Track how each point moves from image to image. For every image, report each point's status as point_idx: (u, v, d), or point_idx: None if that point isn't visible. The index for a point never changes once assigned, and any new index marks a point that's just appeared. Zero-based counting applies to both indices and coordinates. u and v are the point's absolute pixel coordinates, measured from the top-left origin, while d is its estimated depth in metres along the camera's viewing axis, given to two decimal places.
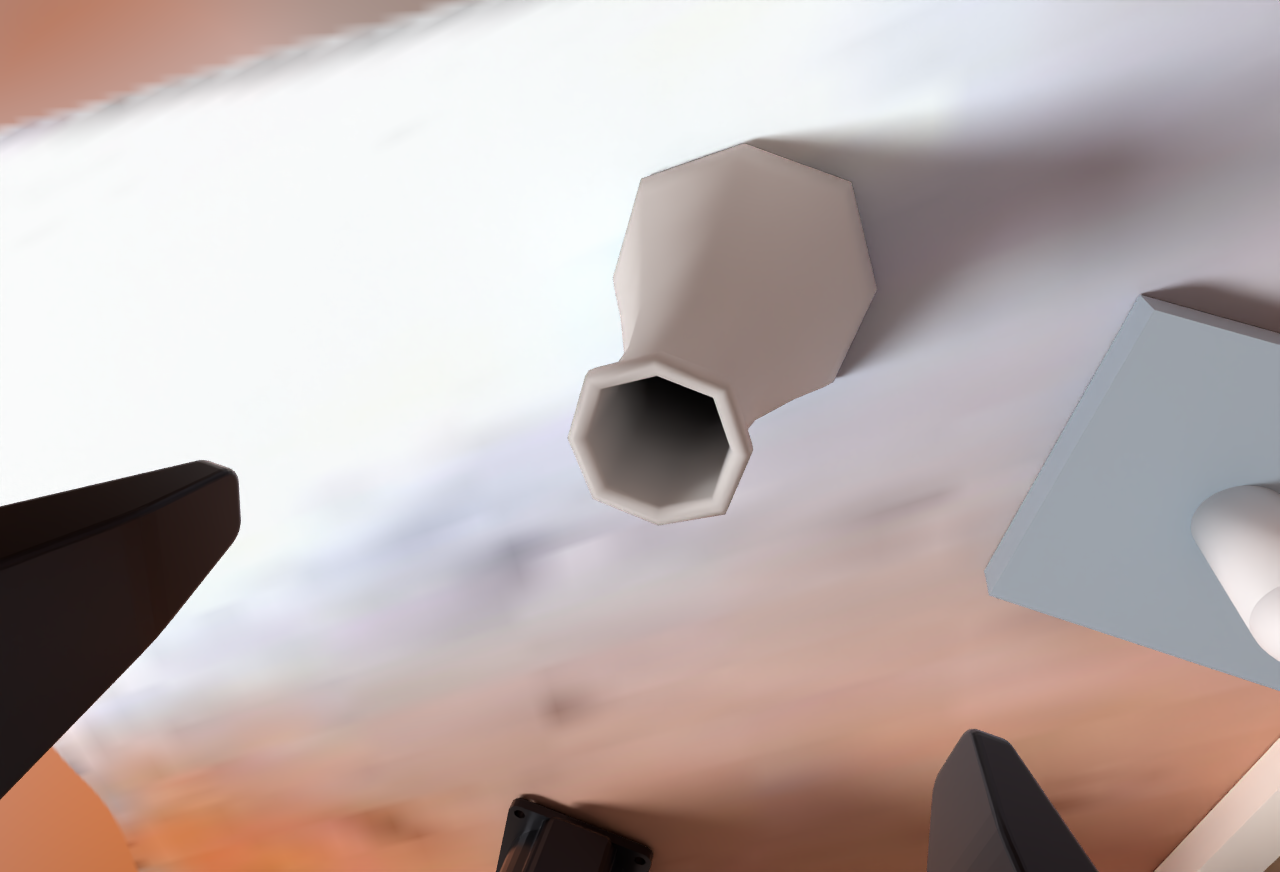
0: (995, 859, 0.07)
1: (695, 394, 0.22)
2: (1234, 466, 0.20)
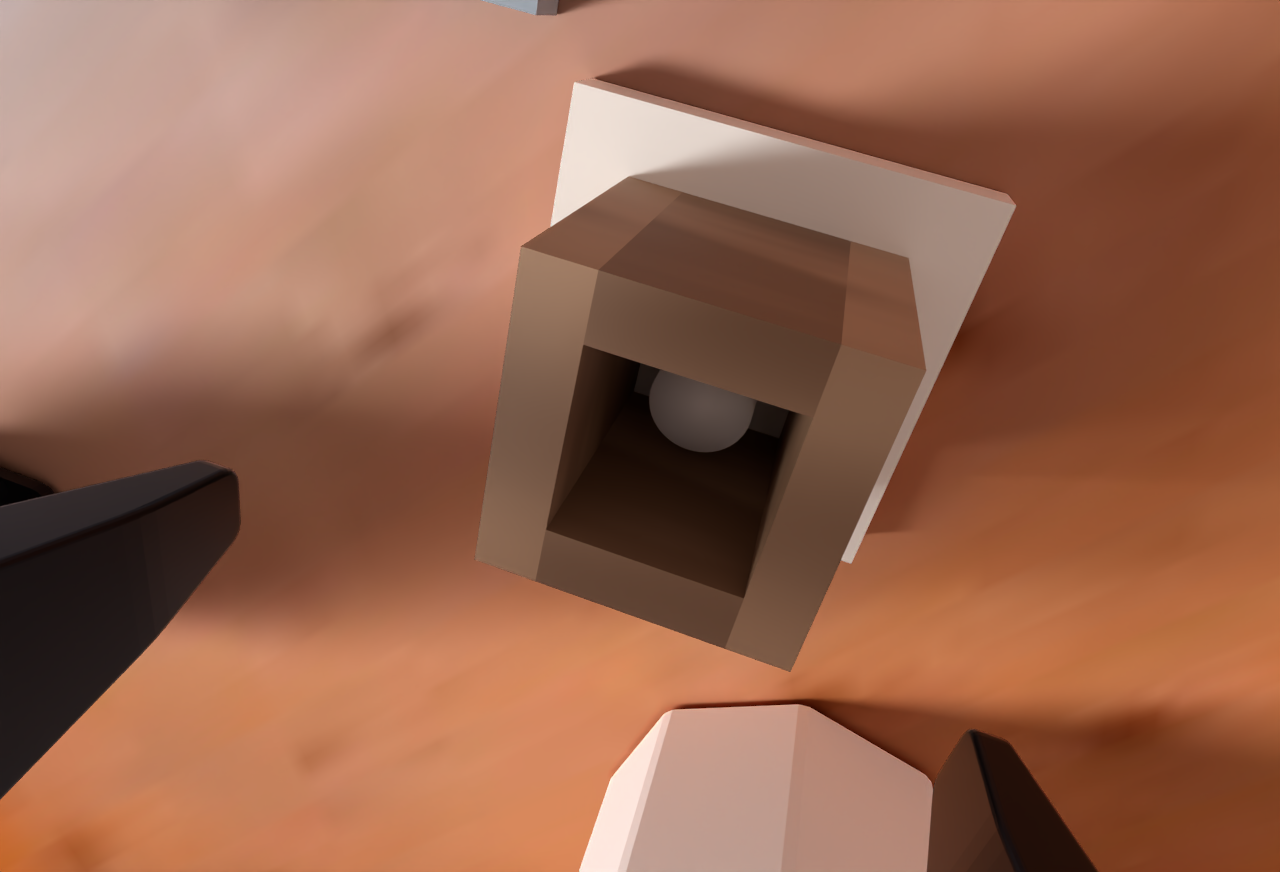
0: (995, 859, 0.07)
1: None
2: None
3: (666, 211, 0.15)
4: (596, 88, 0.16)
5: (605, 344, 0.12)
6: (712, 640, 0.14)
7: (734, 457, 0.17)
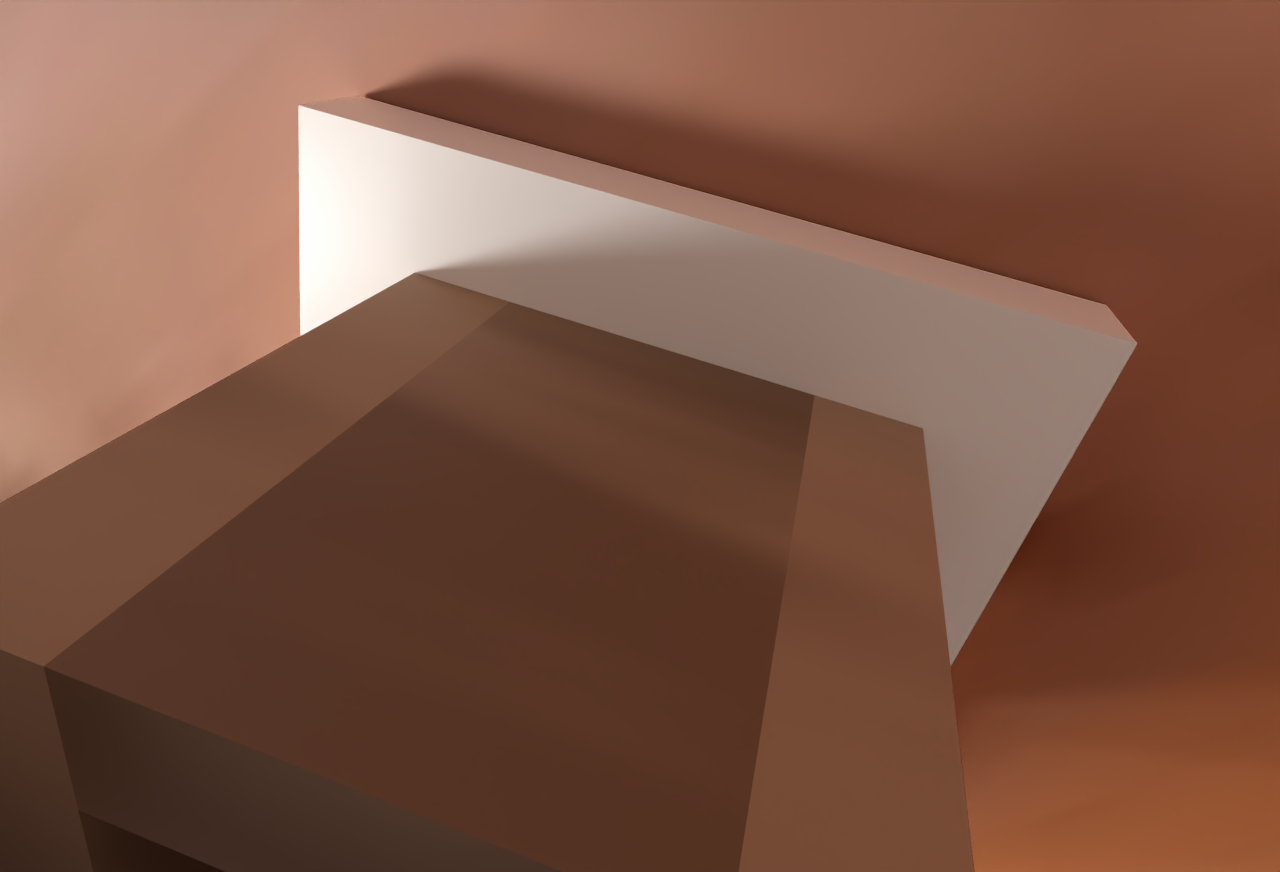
0: None
1: None
2: None
3: (440, 363, 0.08)
4: (338, 117, 0.09)
5: (125, 819, 0.05)
6: None
7: None
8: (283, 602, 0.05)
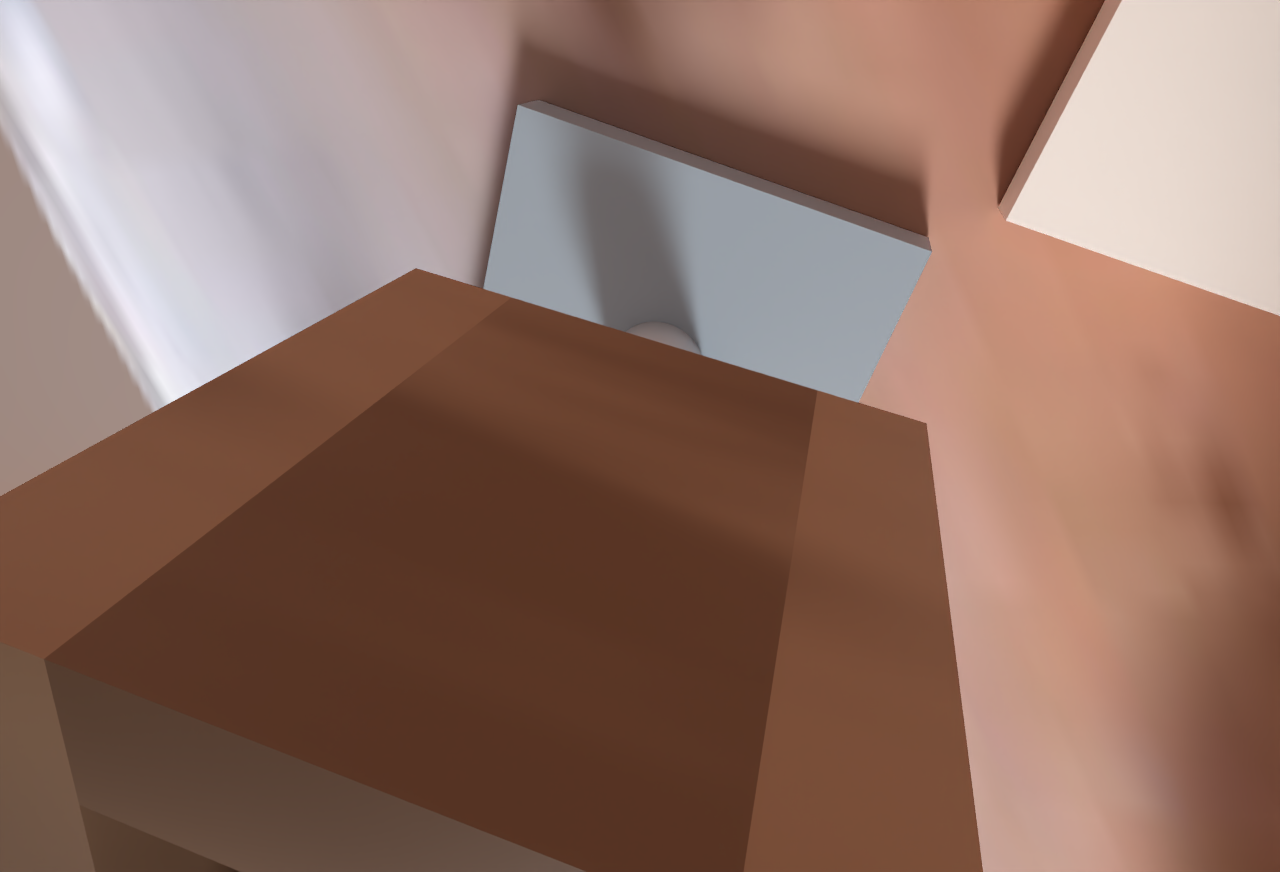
0: None
1: None
2: None
3: (441, 358, 0.08)
4: (1019, 196, 0.15)
5: (127, 814, 0.04)
6: None
7: None
8: (285, 595, 0.05)
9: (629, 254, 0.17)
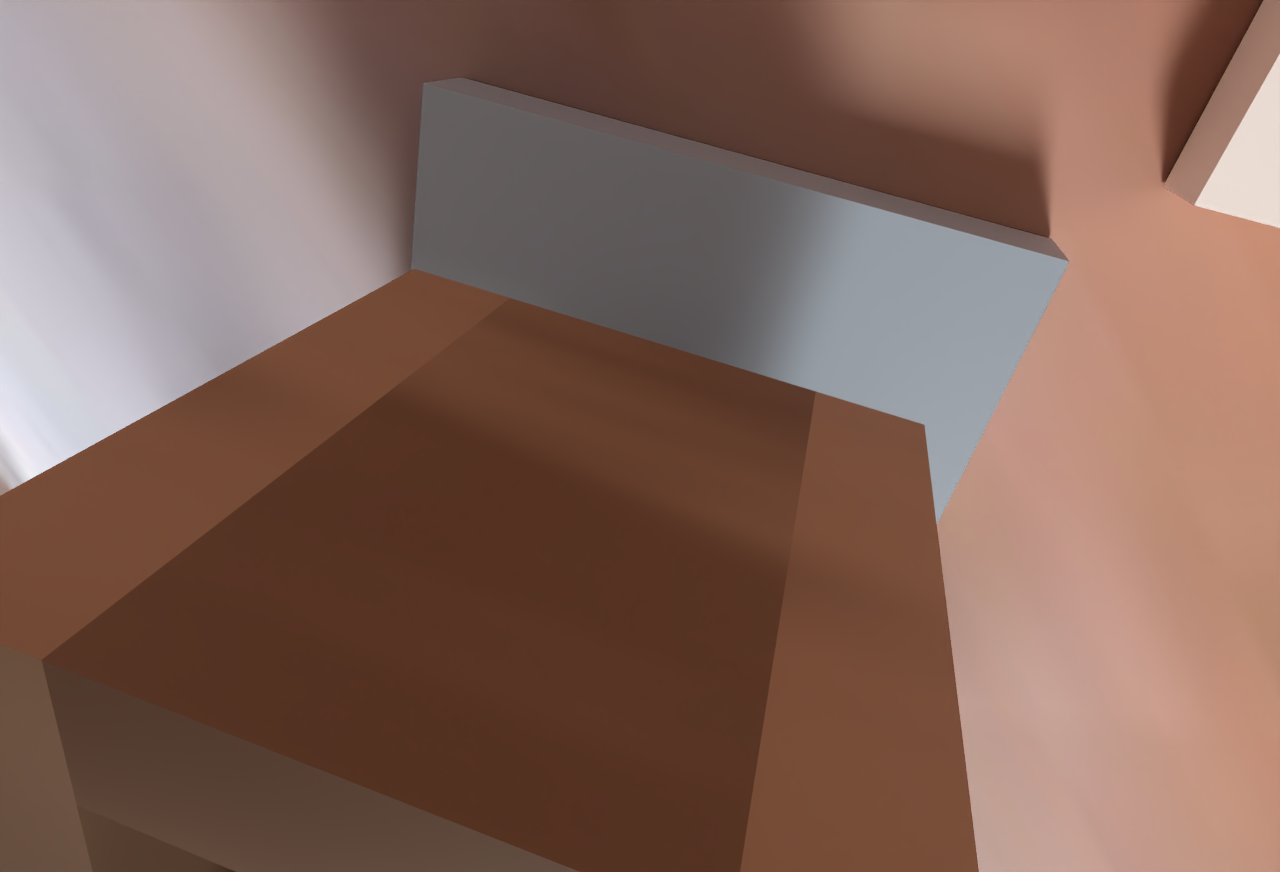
0: None
1: None
2: None
3: (440, 359, 0.08)
4: (1217, 164, 0.09)
5: (124, 814, 0.04)
6: None
7: None
8: (283, 596, 0.05)
9: (604, 291, 0.12)
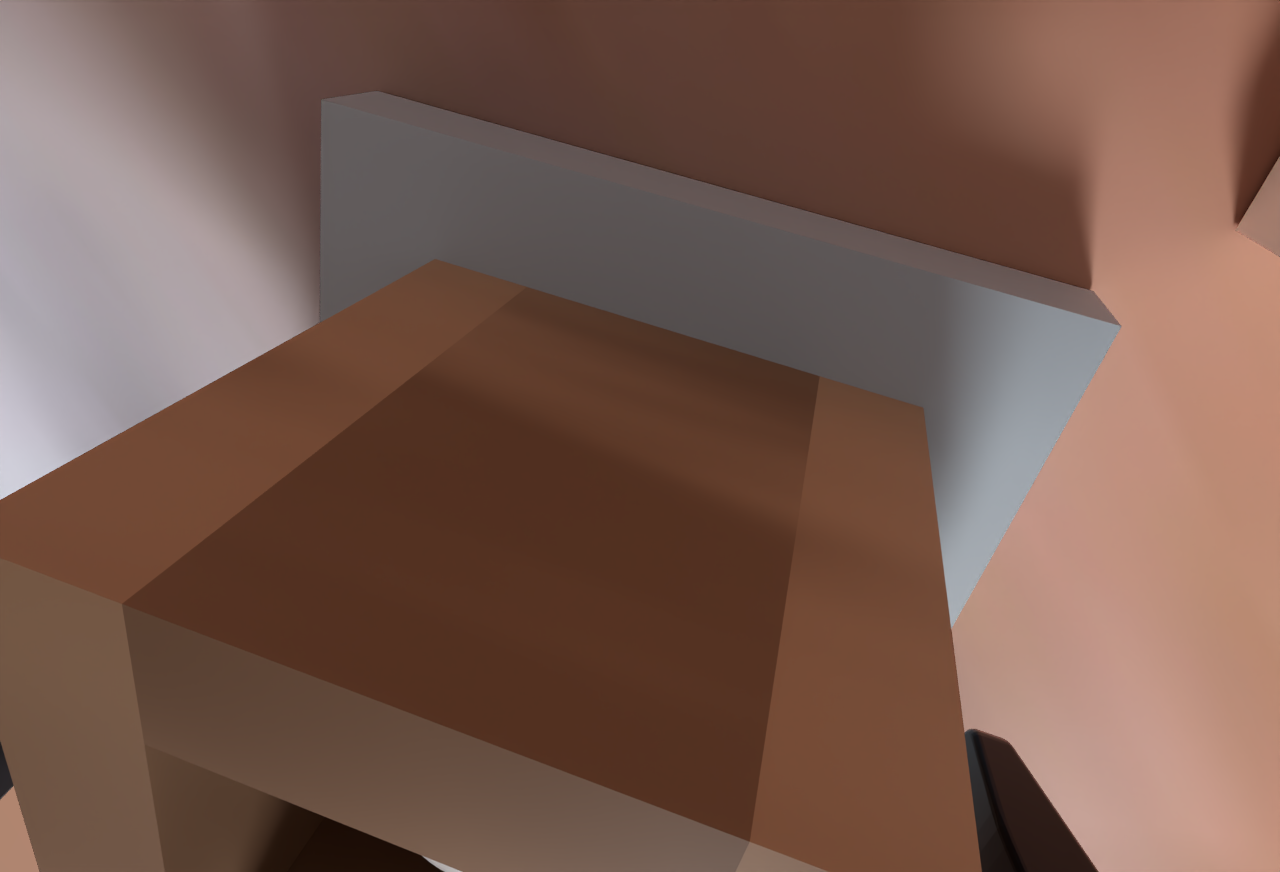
0: (995, 859, 0.07)
1: None
2: None
3: (464, 343, 0.08)
4: None
5: (190, 751, 0.05)
6: None
7: None
8: (334, 553, 0.05)
9: None
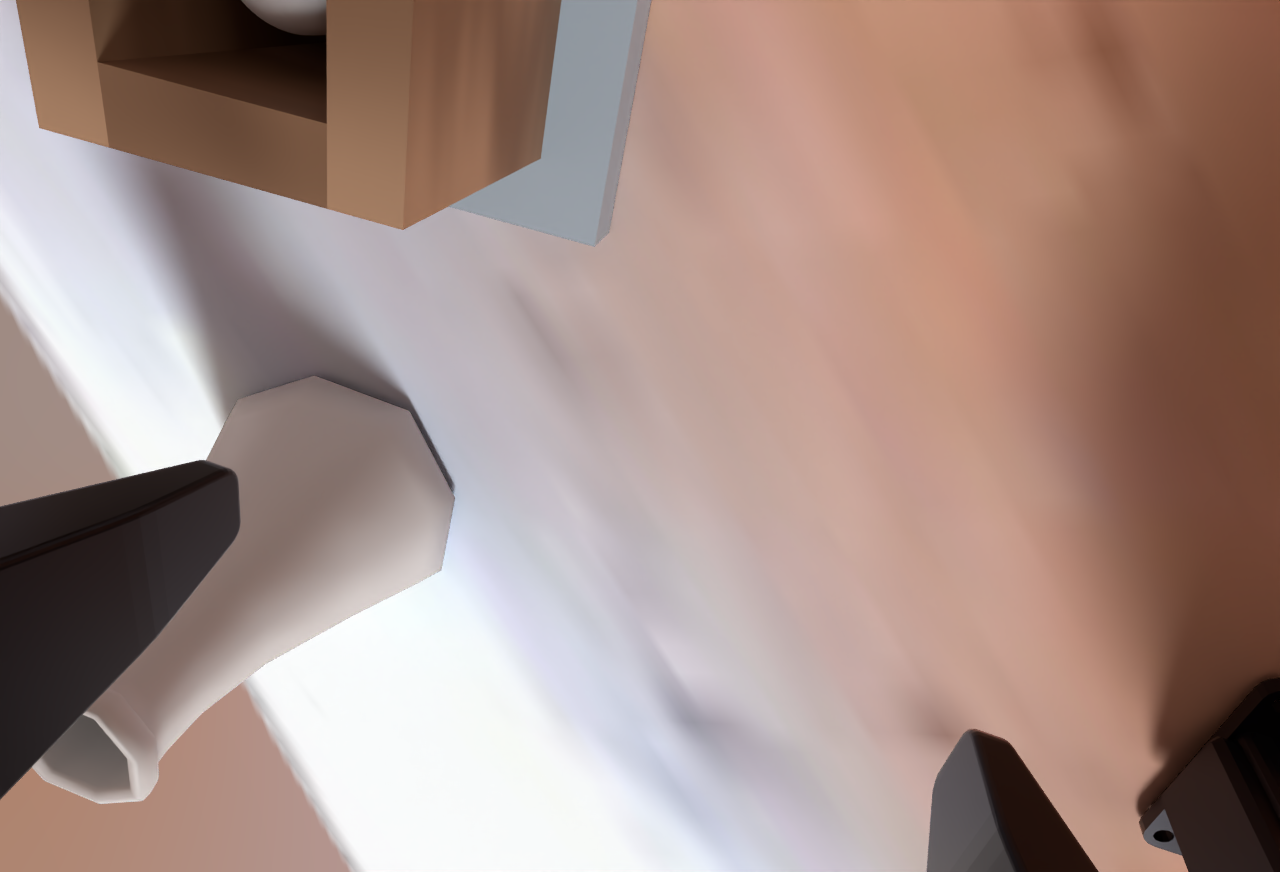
0: (995, 859, 0.07)
1: (401, 554, 0.22)
2: None
3: None
4: None
5: None
6: (311, 197, 0.12)
7: None
8: None
9: None
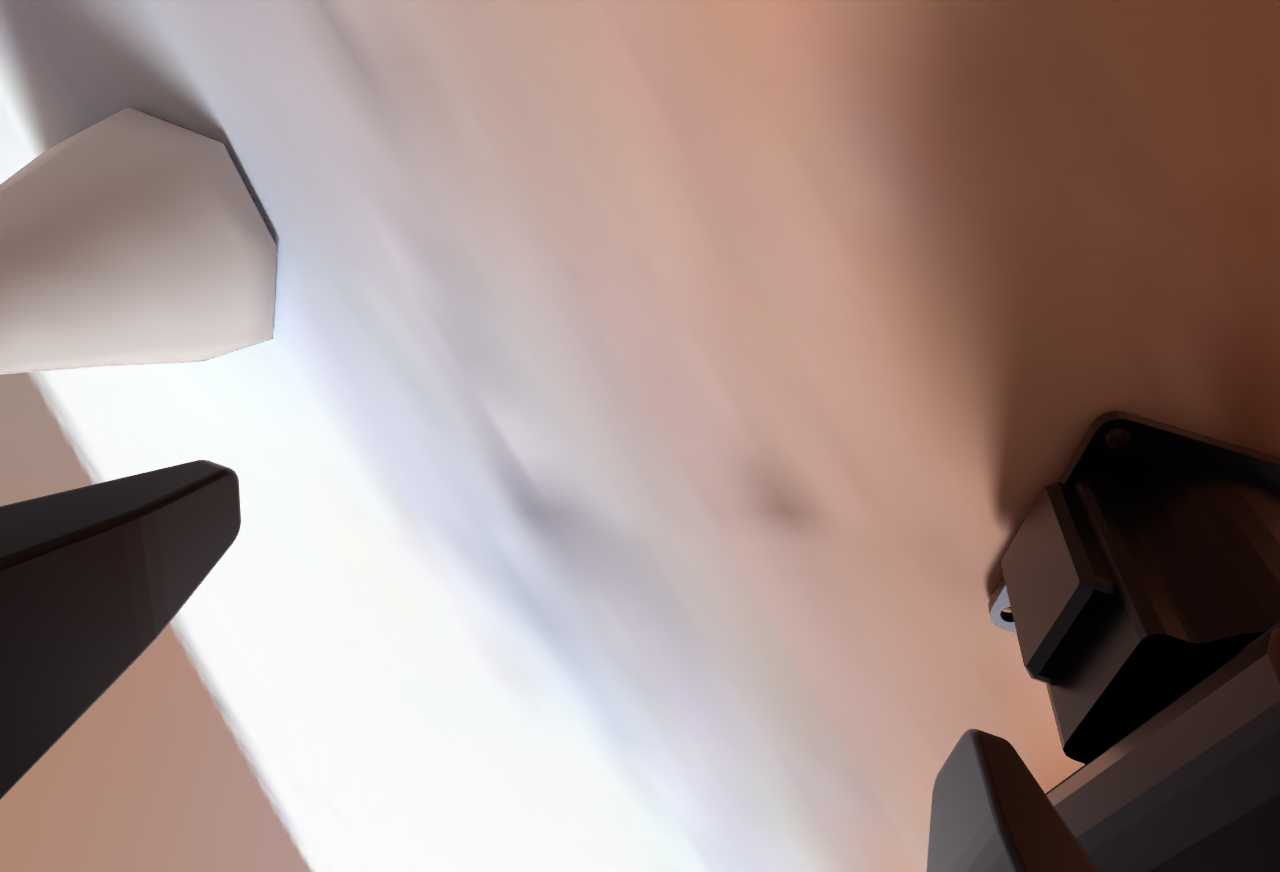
0: (995, 859, 0.07)
1: (212, 295, 0.21)
2: None
3: None
4: None
5: None
6: None
7: None
8: None
9: None
